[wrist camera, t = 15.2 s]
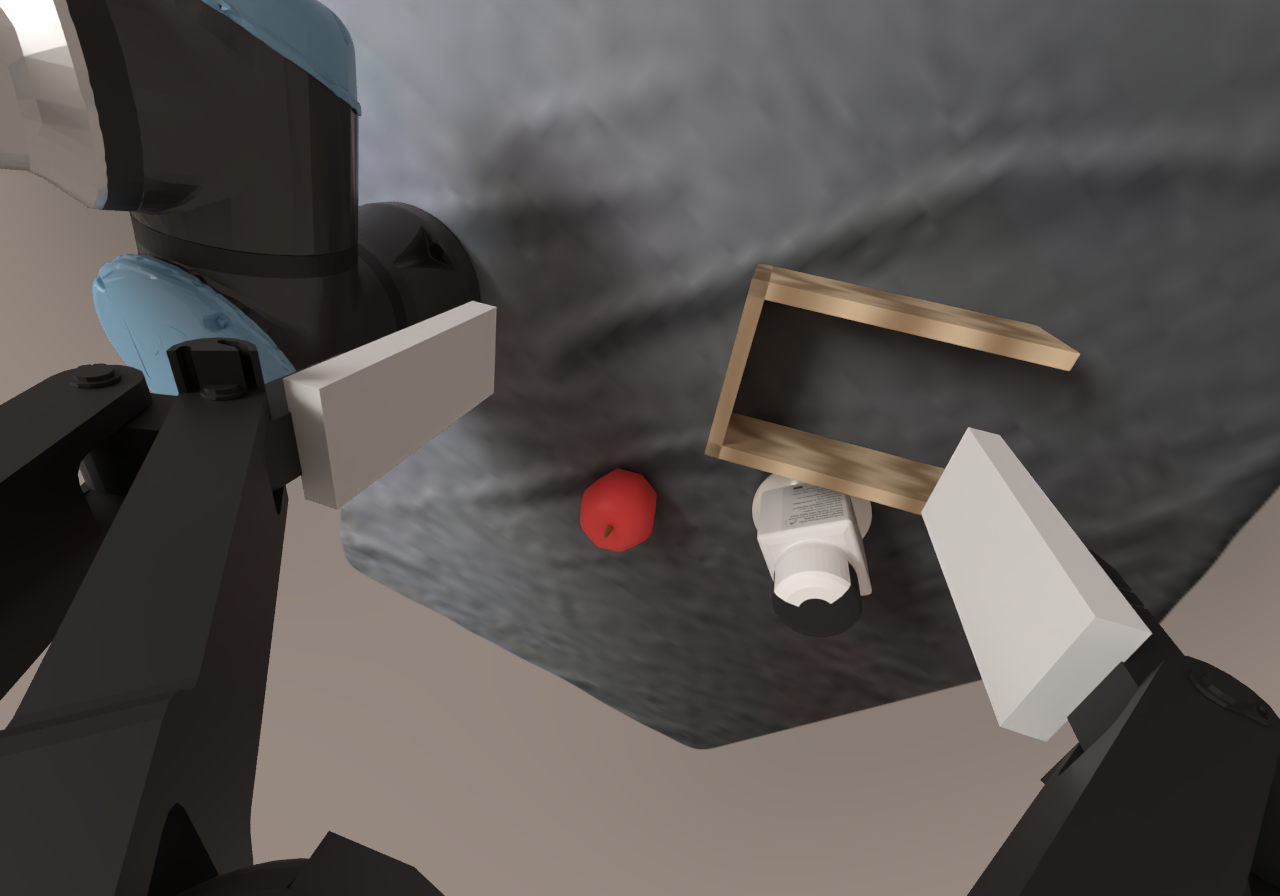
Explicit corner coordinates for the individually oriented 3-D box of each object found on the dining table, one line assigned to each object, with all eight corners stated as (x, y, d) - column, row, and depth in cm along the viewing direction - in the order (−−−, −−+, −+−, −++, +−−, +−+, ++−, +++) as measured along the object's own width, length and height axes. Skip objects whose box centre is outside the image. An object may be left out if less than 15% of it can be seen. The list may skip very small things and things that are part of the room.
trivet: (740, 537, 55) (739, 540, 54) (771, 447, 49) (770, 450, 49) (846, 569, 53) (846, 573, 53) (890, 480, 48) (891, 484, 47)
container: (863, 540, 51) (882, 645, 40) (783, 553, 54) (780, 653, 43) (843, 472, 48) (858, 564, 37) (760, 490, 51) (751, 579, 40)
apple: (654, 454, 53) (633, 496, 46) (673, 520, 56) (656, 568, 49) (583, 463, 56) (554, 504, 49) (605, 525, 59) (580, 572, 52)
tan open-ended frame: (715, 419, 49) (704, 454, 43) (758, 262, 42) (752, 278, 36) (948, 482, 47) (970, 529, 41) (1036, 325, 39) (1080, 353, 33)
